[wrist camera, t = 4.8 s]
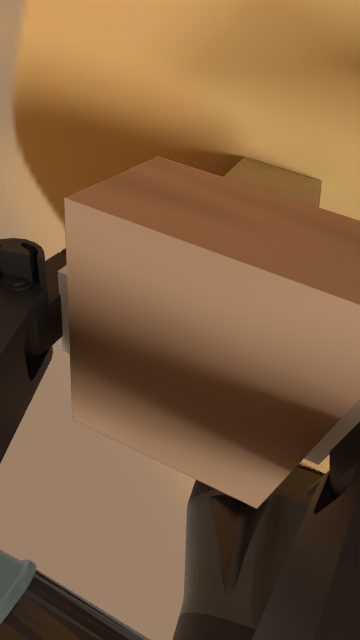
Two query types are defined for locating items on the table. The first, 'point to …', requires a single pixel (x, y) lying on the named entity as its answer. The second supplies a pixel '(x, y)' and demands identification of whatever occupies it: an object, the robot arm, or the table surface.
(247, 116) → the table surface
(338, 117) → the table surface
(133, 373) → the walnut block
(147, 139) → the table surface
